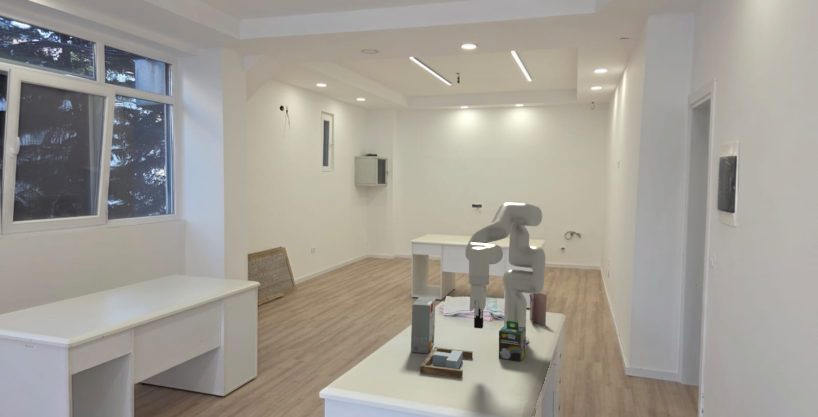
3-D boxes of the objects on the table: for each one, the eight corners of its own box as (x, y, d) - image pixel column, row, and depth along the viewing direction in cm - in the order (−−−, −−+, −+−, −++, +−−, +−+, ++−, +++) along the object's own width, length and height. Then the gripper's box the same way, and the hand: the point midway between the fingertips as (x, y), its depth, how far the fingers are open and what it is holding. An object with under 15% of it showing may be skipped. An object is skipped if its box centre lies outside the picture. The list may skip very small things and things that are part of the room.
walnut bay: (434, 353, 216) (434, 347, 216) (472, 357, 212) (472, 351, 211) (420, 372, 194) (420, 366, 194) (461, 377, 190) (461, 371, 189)
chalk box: (525, 355, 216) (527, 319, 215) (520, 362, 208) (521, 324, 207) (503, 351, 220) (504, 316, 219) (497, 358, 211) (498, 321, 211)
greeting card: (527, 319, 271) (528, 290, 270) (542, 319, 271) (543, 290, 270) (530, 325, 260) (531, 295, 259) (546, 326, 259) (547, 295, 258)
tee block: (437, 358, 210) (437, 348, 210) (462, 361, 207) (462, 351, 207) (430, 368, 198) (430, 357, 198) (456, 371, 196) (456, 361, 195)
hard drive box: (428, 354, 215) (429, 305, 214) (410, 352, 216) (411, 304, 215) (434, 342, 230) (435, 297, 229) (417, 341, 231) (418, 296, 230)
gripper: (472, 275, 206) (472, 320, 208) (465, 283, 192) (465, 333, 193) (491, 276, 204) (491, 322, 206) (486, 285, 190) (485, 334, 191)
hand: (478, 327), depth 200 cm, fingers closed
